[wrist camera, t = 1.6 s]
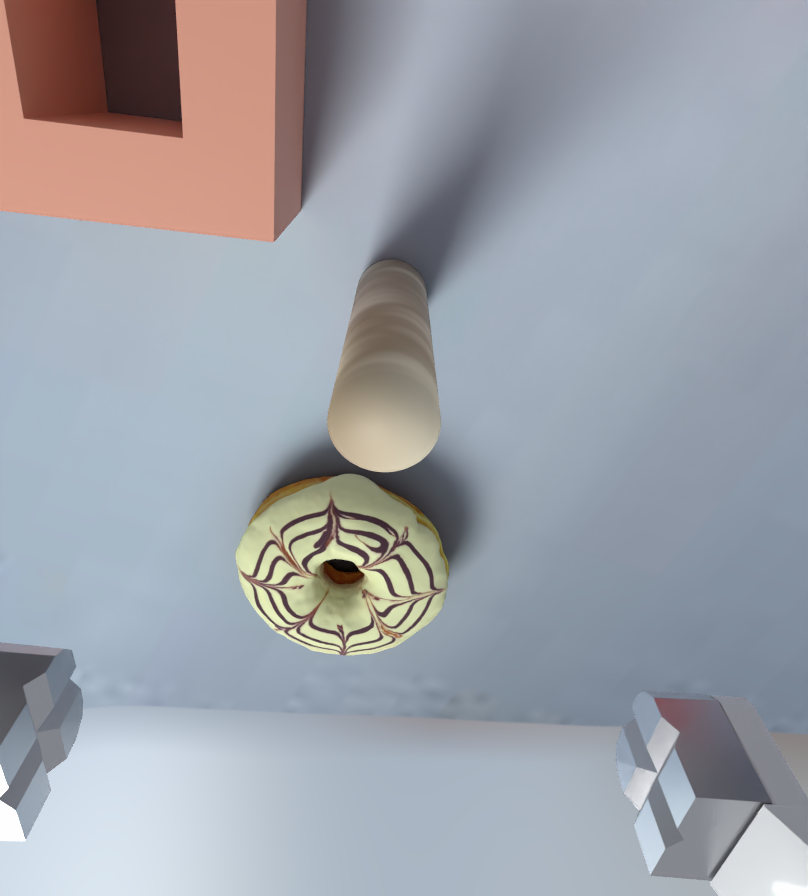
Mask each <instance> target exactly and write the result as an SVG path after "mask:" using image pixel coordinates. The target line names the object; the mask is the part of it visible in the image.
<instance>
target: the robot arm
mask: <svg viewBox="0 0 808 896" xmlns="http://www.w3.org/2000/svg"><path fill="white" fill-rule="evenodd" d="M75 668H76V664H75V660H74V657H73V653H72V650H68V649H60V648H50V647H40V646H30V645H21V644H11V643H1V642H0V840H12V841H13V840H14V841H25V840H26V838H27V836H28V834H29V832H30V830H31V828H32V826H33V824H34V822H35V820H36V819H37V817H38V814H39V812H40V811H41V809H42V807H43V805H44V803H45V800H46V799H47V797H48V795H49V793H50V791H51V789H50V785H49V780H48V776H47V773H48V772H49V771H51V770H52V769H53V768H55V767H56V766H57V765H59V764H60V763H61V762H63V761H64V760H65V759H66V758H67V757H68V754H69V752H70V750H71V748H72V746H73V744H74V742H75V740H76V737H77V734H78V730H79V726H80V723H81V719H82V711H83V698H82V693H81V688H79V687H78V686H77V685H76V684H75V683H74V682H73V681H71V680H70V677H71V675H72V673H73V672H74V670H75ZM632 710H633V713H634V715H635V718H636V719H634V720H632V721H631V722H629V723H628V724H626V725H625V726H623V727H622V730H621V732H620V735H619V738H618V740H617V749H616V764H617V771H618V777H619V780H620V783H621V786H622V790H623V793H624V795H625V796H626V797H627V798H628V799H629V800H630V801H631V802H632V803H633V804H634V805H635V806H636V807H637V808H638V809H639V812H638V815H637V818H636V820H635V824H634V828H635V831H636V834H637V837H638V840H639V843H640V846H641V849H642V852H643V855H644V858H645V861H646V864H647V867H648V870H649V874H650V875H651V876H662V877H675V878H687V879H697V880H709V881H711V883H710V885H711V886H712V888H713V889H714V890H715V891H716V892H717V894H718V895H719V896H808V798H807V796H806V794H805V793H804V791H803V789H802V788H801V786H800V784H799V783H798V781H797V779H796V777H795V776H794V774H793V772H792V771H791V769H790V767H789V766H788V764H787V762H786V760H785V759H784V757H783V755H782V753H781V752H780V750H779V748H778V747H777V745H776V743H775V742H774V740H773V738H772V736H771V735H770V733H769V731H768V730H767V728H766V726H765V724H764V723H763V721H762V719H761V718H760V716H759V714H758V712H757V711H756V709H755V707H754V706H753V705H752V704H751V703H750V702H749V701H748V700H747V699H745V698H738V697H725V696H708V695H706V694H690V693H673V692H657V691H643V692H641V693H640V694H638V695H637V696H636V698H635V701H634V703H633V705H632Z"/></svg>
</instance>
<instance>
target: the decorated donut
mask: <svg viewBox="0 0 808 896" xmlns="http://www.w3.org/2000/svg"><path fill="white" fill-rule="evenodd" d="M235 556H236V562H237V567H238V571H239V579H240V582H241V585H242V587H243V590H244V592H245V595H246V596H247V598H248V599H249V601H250V603H251V604H252V606H253V607H254V609H255V610H256V611H257V613H258V614H259V615H260V616H261V617H262V618H263V619H264V620H265V622H266V623H267V624H268V625H269V626H270V627H271V628H272V629H273V630H274V631H276V632H277V633H279V634H282V635H284V636H285V637H286V638H288V639H290V640H292V641H294V642H296V643H299V644H300V645H303V646H305V647H307V648H308V649H310V650H313V651H318V652H323V653H330V654H339V655H357V654H372V653H376V652H379V651H382V650H386V649H389V648H392V647H395V646H397V645H399V644H400V643H402V642H403V641H405V640H406V639H408V638H409V637H411V636H412V635H413V634H415V633H416V632H417V631H419V630H420V629H421V628H423V627H424V626H426V625H427V624H428V623H429V622H431V621H432V620H433V619H434V617H435V616H436V615H437V614H438V613H439V612H440V610H441V609H442V607H443V604H444V600H445V597H446V590H447V588H448V576H449V565H448V560H447V558H446V556H445V554H444V552H443V549H442V542H441V540H440V538H439V534H438V532H437V530H436V528H435V527H434V526H433V524H432V523H431V522H430V520H429V519H428V518H427V517H426V516H425V515H424V514H423V513H422V512H421V511H420V510H419V509H418V508H417V507H416V506H414V505H413V504H411V503H410V502H409V501H408V500H406V499H405V498H403V497H401V496H399V495H397V494H394V493H393V492H391V491H388V490H386V489H385V488H382V487H380V486H378V485H376V484H375V483H374V482H373V481H371V480H369V479H368V478H366V477H364V476H361V475H356V474H342V475H339V476H325V477H324V476H323V477H319V478H310V479H304V480H302V481H298V482H296V483H293V484H290V485H288V486H284V487H283V488H281V489H279V490H277V491H275V492H273V493H272V494H270V496H269V497H268V498H267V499H265V500H264V501H263V503H262V504H261V506H260V507H259V508H258V510H257V512H256V513H255V514H254V516H253V517H252V519H251V521H250V523H249V525H248V528H247V529H246V531H245V533H244V535H243V537H242V539H241V542H240V544H239V546H238V549H237V550H236V554H235ZM331 559H342V560H349V561H352V562H354V563H355V565H356V566H357V567H358V568H359V571H356V572H342V571H337V570H336V569H334V568H333V567H332V566H331V565H330V564H328V563H327V562H326V560H331Z"/></svg>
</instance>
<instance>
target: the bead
mask: <svg viewBox="0 0 808 896" xmlns="http://www.w3.org/2000/svg"><path fill="white" fill-rule="evenodd" d="M175 4H176V22H177V39H178V57H179V75H180V92H181V110H182V121H175V120H167V119H159V118H151V117H143V116H135V115H127V114H119V113H111V112H108V106H107V97H106V88H105V78H104V69H103V60H102V51H101V41H100V32H99V23H98V14H97V4H96V0H0V211H8V212H17V213H25V214H34V215H43V216H51V217H60V218H69V219H77V220H86V221H95V222H103V223H112V224H121V225H129V226H138V227H147V228H155V229H164V230H173V231H181V232H190V233H199V234H207V235H216V236H225V237H233V238H242V239H251V240H259V241H268V242H274V241H275V240H276V239H277V238H278V237H279V236H280V234H281V233H282V232H283V231H284V230H285V229H286V227H287V226H288V225H289V224H290V223H291V222H292V220H293V219H294V218H295V217H296V216H297V215H298V213H299V212H300V211H301V186H302V151H303V117H304V83H305V48H306V14H307V0H175Z"/></svg>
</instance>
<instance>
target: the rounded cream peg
mask: <svg viewBox="0 0 808 896" xmlns="http://www.w3.org/2000/svg"><path fill="white" fill-rule="evenodd" d="M327 425H328V431H329V435H330V438H331V440H332V442H333V444H334V446H335V447H336V449H337V450H338V451H339V452H340V453H341V455H343V456H344V457H345V458H346V459H347V460H348V461H350V462H351V463H353V464H355V465H357V466H359V467H361V468H364V469H367V470H370V471H376V472H394V471H400V470H403V469H406V468H409V467H411V466H413V465H415V464H417V463H418V462H420V461H421V460H422V459H424V458H425V457H426V456H427V455H428V454H429V453H430V451H431V450H432V449H433V447H434V445H435V444H436V442H437V439H438V437H439V433H440V427H441V418H440V408H439V399H438V390H437V381H436V373H435V364H434V355H433V346H432V337H431V328H430V319H429V310H428V301H427V292H426V286H425V283H424V280H423V278H422V276H421V275H420V273H419V272H418V271H417V270H416V269H415V268H414V267H413V266H411V265H410V264H408V263H406V262H403V261H400V260H394V259H389V260H383V261H379V262H377V263H375V264H373V265H372V266H370V267H369V268H368V269H367V270H366V271H365V272H364V273H363V275H362V276H361V278H360V281H359V283H358V287H357V291H356V295H355V300H354V304H353V308H352V313H351V317H350V321H349V325H348V330H347V334H346V338H345V342H344V347H343V351H342V355H341V360H340V364H339V368H338V372H337V377H336V381H335V385H334V390H333V394H332V398H331V402H330V407H329V411H328V418H327Z"/></svg>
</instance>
